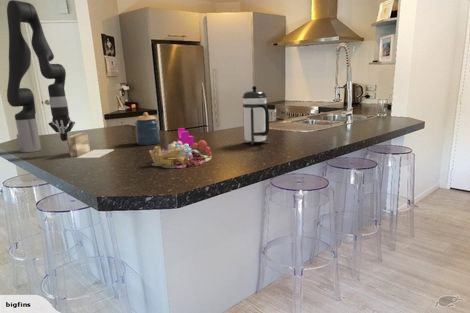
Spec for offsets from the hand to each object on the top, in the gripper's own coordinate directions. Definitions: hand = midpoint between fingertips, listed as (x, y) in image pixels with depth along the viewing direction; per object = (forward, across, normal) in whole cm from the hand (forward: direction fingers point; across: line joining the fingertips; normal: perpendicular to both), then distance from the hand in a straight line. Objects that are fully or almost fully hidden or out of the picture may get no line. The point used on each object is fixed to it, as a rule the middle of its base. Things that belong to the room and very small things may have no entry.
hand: (64, 140), depth 167 cm
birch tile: (+7, +7, 0) cm, 10 cm away
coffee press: (+8, +96, +18) cm, 98 cm away
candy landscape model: (+8, +63, -19) cm, 66 cm away
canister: (+7, +34, +25) cm, 43 cm away
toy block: (+8, +56, +24) cm, 61 cm away
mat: (+7, +16, 0) cm, 17 cm away
